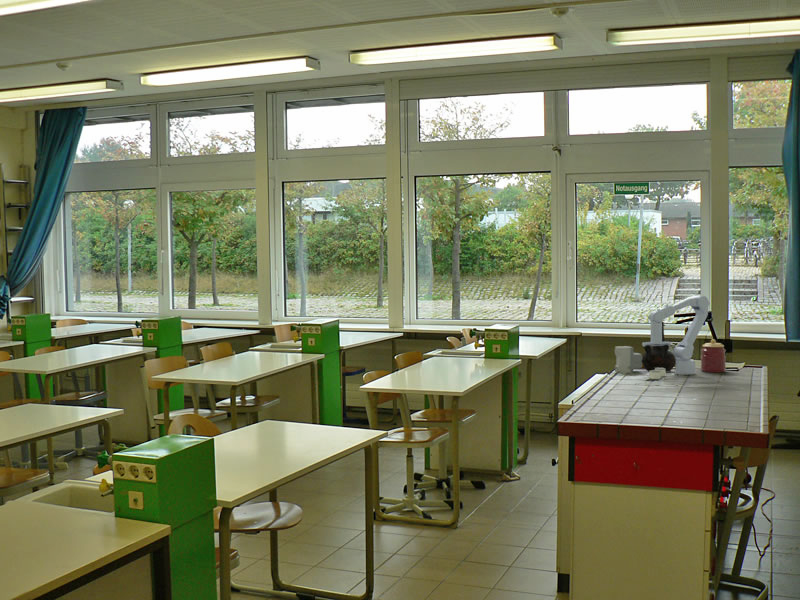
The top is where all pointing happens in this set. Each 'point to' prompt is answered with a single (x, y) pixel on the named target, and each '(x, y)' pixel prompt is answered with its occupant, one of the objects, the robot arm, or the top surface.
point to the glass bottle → (659, 357)
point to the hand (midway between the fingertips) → (656, 359)
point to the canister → (713, 357)
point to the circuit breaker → (627, 359)
